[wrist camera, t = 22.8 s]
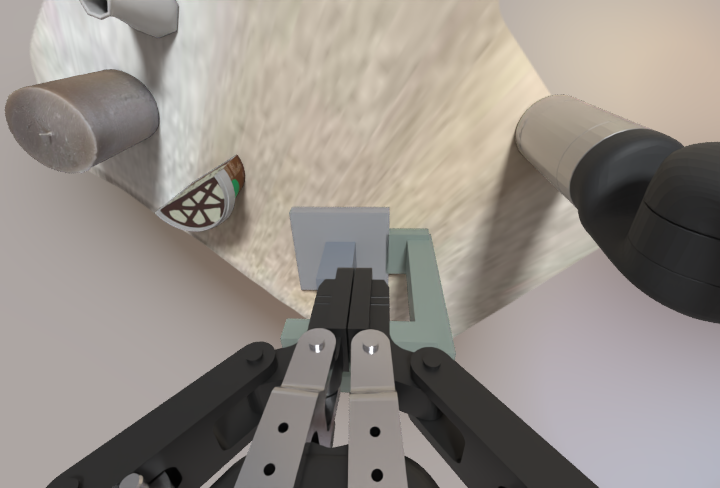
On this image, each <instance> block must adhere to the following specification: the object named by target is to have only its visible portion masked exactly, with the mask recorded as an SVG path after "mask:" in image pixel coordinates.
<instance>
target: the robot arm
mask: <svg viewBox="0 0 720 488" xmlns="http://www.w3.org/2000/svg"><path fill="white" fill-rule="evenodd" d="M515 139H516V145H517V147H518V150H519V151H520V153H521V154H522V155H523V156H524V157H525V158H526V159H527V160H528V161H529V162H530V163H531V164H532V165H533V166H534V167H535V168H536V169H537V170H538V171H539V172H540V173H541V174H542V175H543V176H544V177H545V178H546V179H547V180H548V181H549V182H550V183H551V184H552V185H553V186H554V187H555V188H556V189H557V190H558V191H559V192H560V193H561V194H563V195H564V196H565V197H566V198H567V199H568V200H569V201H570V202H571V203H572V204H573V205H574V206H575V207H576V208H577V209H578V214H579V218H580V221H581V224H582V225H583V227H584V228H585V230H586V231H587V232H588V233H589V235H590V236H591V237H592V238H593V240H594V241H595V242H596V243H597V244H598V246H599V247H600V248H601V249H602V251H603V252H604V253H605V254H606V256H607V257H608V258H609V259H610V261H611V262H612V263H613V264H614V265H615V266H616V268H617V269H618V270H619V271H620V272H621V273H622V274H623V275H624V276H625V277H626V278H627V279H628V280H629V281H630V282H631V283H632V284H633V285H635V286H636V287H637V288H638V289H640V290H641V291H642V292H644V293H645V294H646V295H648V296H649V297H651V298H652V299H654V300H655V301H657V302H659V303H661V304H662V305H664V306H666V307H668V308H670V309H673V310H675V311H677V312H679V313H681V314H684V315H687V316H689V317H692V318H696V319H699V320H703V321H708V322H713V323H719V324H720V142H706V143H698V144H693V145H689V146H686V147H684V146H683V145H682V144H681V143H680V142H678V141H677V140H675V139H673V138H671V137H670V136H667V135H665V134H662V133H660V132H657V131H654V130H652V129H650V128H647V127H645V126H642V125H640V124H637V123H635V122H632V121H630V120H627V119H625V118H623V117H620V116H617V115H615V114H613V113H610V112H608V111H605V110H603V109H601V108H598V107H595V106H593V105H591V104H588V103H586V102H584V101H582V100H579V99H577V98H574V97H572V96H568V95H564V94H563V95H552V96H548V97H545V98H543V99H541V100H539V101H537V102H536V103H534V104H533V105H532V106H531V107H530V108H529V109H528V110H527V111H526V112H525V113H524V115H523V116H522V117H521V119H520V121H519V123H518V126H517V129H516V136H515ZM350 366H351V391H350V395H349V444H348V445H344V446H339V447H335V448H330V442H331V435H332V430H333V425H334V420H335V416H336V410H337V406H338V401H339V396H340V392H341V382H342V373H343V372H349V369H350ZM399 411H402V412H405V413H407V414H408V415H409V418H410V420H411V421H412V422H413V423H414V425H415V426H416V427H417V428H418V429H419V430H420V432H421V433H422V434H423V435H424V436H425V438H426V439H427V440H428V441H429V442H430V443H431V445H432V446H433V447H434V448H435V449H436V451H437V452H438V453H439V454H440V455H441V456H442V458H443V459H444V460H445V461H446V462H447V464H448V465H449V466H450V467H451V468H452V469H453V471H454V472H455V473H456V474H457V475H458V477H459V478H460V479H461V480H462V481H463V482H464V484H465V485H466V486H467V487H468V488H599V487H598V486H597V485H595V484H594V483H593V482H592V481H591V480H590V479H588V478H587V477H586V476H585V475H584V474H583V473H582V472H581V471H580V470H578V469H577V468H576V467H575V466H574V465H573V464H572V463H570V462H569V461H568V460H567V459H566V458H565V457H564V456H562V455H561V454H560V453H559V452H558V451H557V450H556V449H555V448H553V447H552V446H551V445H550V444H549V443H548V442H547V441H545V440H544V439H543V438H542V437H541V436H540V435H538V434H537V433H536V432H535V431H534V430H533V429H532V428H531V427H530V426H528V425H527V424H526V423H525V422H524V421H523V420H522V419H520V418H519V417H518V416H517V415H516V414H515V413H514V412H513V411H511V410H510V409H509V408H508V407H507V406H506V405H505V404H503V403H502V402H501V401H500V400H499V399H498V398H497V397H495V396H494V395H493V394H492V393H491V392H490V391H489V390H487V389H486V388H485V387H484V386H483V385H482V384H481V383H479V382H478V381H477V380H476V379H475V378H474V377H473V376H472V375H470V374H469V373H468V372H467V371H466V370H465V369H464V368H462V367H461V366H460V365H459V364H458V363H457V362H456V361H455V360H453V359H452V358H451V357H450V356H449V355H448V354H447V353H445V352H444V351H442V350H441V349H438V348H435V347H423V348H420V349H418V350H417V351H415V352H411V351H408V350H405V349H403V348H401V347H399V346H398V345H396V344H395V343H394V342H393V340H392V339H391V336H390V316H389V287H388V285H387V283H386V282H385V280H375V279H373V276H372V268H345V267H338V268H337V272H336V277H335V279H325V280H324V281H323V282H322V283H321V284H320V285H319V287H318V290H317V294H316V298H315V302H314V306H313V310H312V314H311V318H310V322H309V326H308V330H307V332H305V333H304V334H303V335H302V336H301V337H300V338H299V340H298V342H297V343H296V344H294V345H291V346H288V347H284V348H280V349H277V350H274V348H273V346H272V345H270V344H269V343H266V342H254V343H251V344H249V345H246V346H245V347H244V348H242V349H240V350H239V351H237V352H236V353H235V354H233V355H232V356H230V357H229V358H227V359H226V360H224V361H223V362H222V363H220V364H219V365H217V366H216V367H214V368H213V369H212V370H210V371H209V372H207V373H206V374H205V375H203V376H201V377H200V378H199V379H197V380H196V381H194V382H193V383H191V384H190V385H189V386H187V387H186V388H184V389H183V390H181V391H180V392H179V393H177V394H176V395H174V396H173V397H171V398H170V399H168V400H167V401H165V402H164V403H163V404H161V405H160V406H159V407H157V408H155V409H154V410H152V411H151V412H150V413H148V414H147V415H145V416H144V417H142V418H141V419H140V420H138V421H137V422H135V423H134V424H132V425H131V426H130V427H128V428H127V429H125V430H124V431H122V432H121V433H119V434H118V435H116V436H115V437H114V438H112V439H111V440H109V441H108V442H107V443H105V444H104V445H102V446H101V447H99V448H98V449H96V450H95V451H93V452H92V453H91V454H89V455H88V456H86V457H85V458H83V459H82V460H81V461H79V462H78V463H76V464H75V465H73V466H72V467H70V468H69V469H68V470H66V471H65V472H63V473H62V474H60V475H59V476H58V477H56V478H55V479H54V480H53V481H52V482H51V483H50V484H49V485H48V486H47V487H46V488H200V487H201V486H202V485H203V484H204V483H205V482H207V481H208V480H209V479H210V478H211V477H212V476H213V475H214V474H215V473H216V472H218V471H219V470H220V469H221V468H222V467H223V466H224V465H225V464H226V463H228V462H229V461H230V460H231V459H232V458H233V457H234V456H235V455H237V454H238V453H239V452H240V451H241V450H242V449H243V448H244V447H245V446H246V445H248V443H250V442H251V441H252V443H251V445H250V448H249V451H248V453H247V455H246V456H245V457H243V458H241V459H240V460H239V461H238V462H236V463H235V464H234V465H233V466H231V467H230V468H229V469H228V470H227V471H226V472H225V473H224V474H223V475H222V476H221V477H220V478H219V479H218V480H217V481H216V482H215V483H214V484H213V485H212V486H211V487H210V488H439V487H438V485H437V484H436V482H435V481H434V480H433V479H432V477H431V476H430V475H429V474H428V473H427V472H426V471H425V469H424V468H422V467H421V466H420V465H419V464H418V463H416V462H415V461H413V460H412V459H410V458H408V457H406V456H404V450H403V441H402V432H401V423H400V415H399Z"/></svg>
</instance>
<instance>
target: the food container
mask: <svg viewBox="0 0 720 488" xmlns="http://www.w3.org/2000/svg"><path fill="white" fill-rule="evenodd" d="M244 181H245V171H244V167H243V164H242V162H241V160H240V158H239V157H238V155H235V156H234V157H232V158H230V159H229V160H227V161H226V162H224V163H222V164H221V165H219V166H218V167H216V168H214V169H213V170H211V171H210V172H208V173H206V174H205V175H203V176H202V177H200V178H198V179H197V180H195V181H194V182H192V183H191V184H190V185H189V186H187V187H186V188H185V189H184V190H182V191H181V192H180V193H179V194H177V195H176V196H175V197H174V198H173V199H171V200H170V201H169V202H168V203H166V204H165V205H164V206H163V207H161V208H159V209H158V210H157V211H156V212H155V214H156V215H157V216H158V217H159V218H161V219H162V220H164V221H165V222H166V223H168V224H170V225H172V226H174V227H176V228H179V229H182V230H186V231H204V230H208V229H211V228H214V227H216V226H218V225H219V224H221V223H222V222H224V221H225V220H226V219H227V218H228V217H229V216H230V214H231V213H232V211H233V208H234V204H235V198H236V196H237V194H238V193H239V191H240V190H241V188H242V186H243V184H244Z"/></svg>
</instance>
